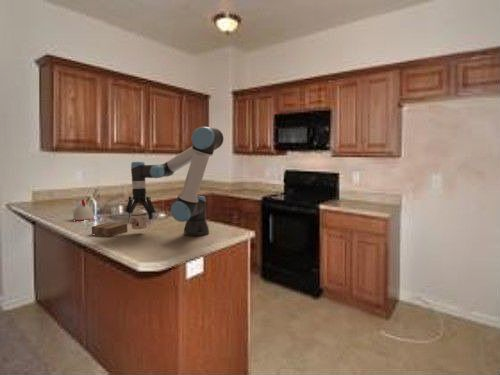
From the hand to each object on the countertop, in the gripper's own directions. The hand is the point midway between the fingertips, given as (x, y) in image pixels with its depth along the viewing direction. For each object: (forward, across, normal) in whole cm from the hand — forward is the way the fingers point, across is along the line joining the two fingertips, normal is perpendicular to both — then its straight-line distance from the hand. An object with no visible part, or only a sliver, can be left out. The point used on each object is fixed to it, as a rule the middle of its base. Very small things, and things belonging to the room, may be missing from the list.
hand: (140, 224), depth 197 cm
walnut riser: (+6, -20, -4) cm, 21 cm away
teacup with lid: (+3, 0, 0) cm, 3 cm away
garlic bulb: (+5, -67, +22) cm, 70 cm away
